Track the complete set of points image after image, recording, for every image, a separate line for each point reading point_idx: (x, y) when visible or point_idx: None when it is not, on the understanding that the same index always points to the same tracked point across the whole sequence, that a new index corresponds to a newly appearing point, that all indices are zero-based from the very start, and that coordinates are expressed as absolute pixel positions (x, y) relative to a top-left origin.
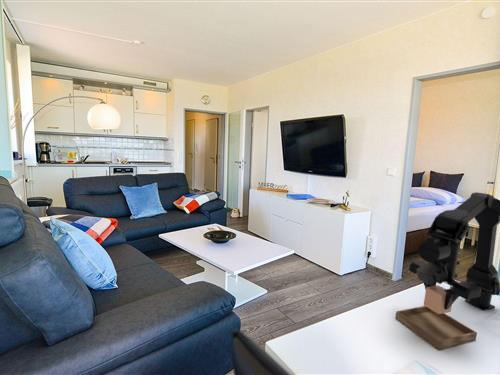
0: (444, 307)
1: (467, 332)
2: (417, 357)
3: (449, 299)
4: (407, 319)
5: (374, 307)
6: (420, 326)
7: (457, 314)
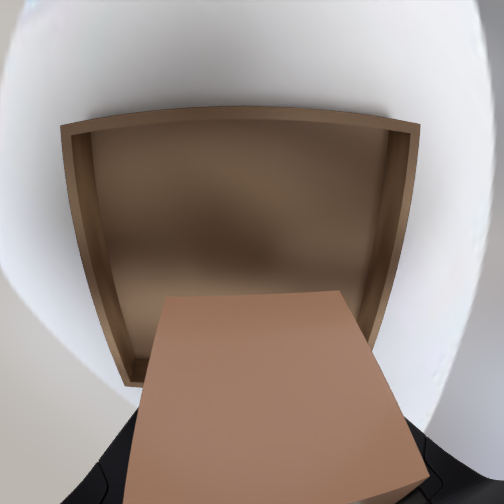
0: None
1: None
2: None
3: (84, 485)
4: (329, 110)
5: (484, 115)
6: (275, 189)
7: None
